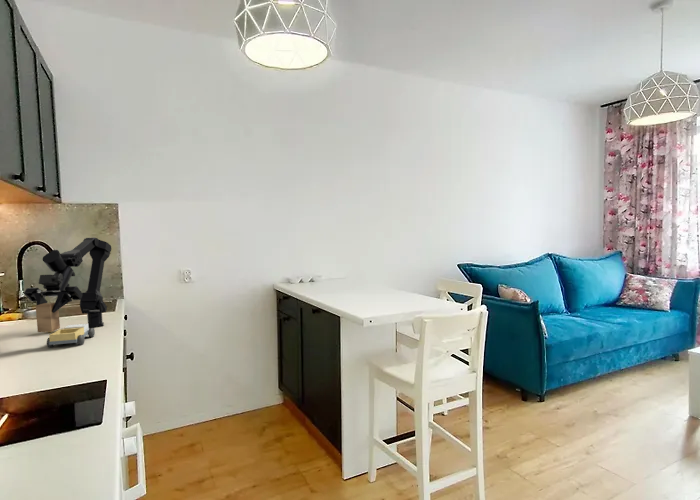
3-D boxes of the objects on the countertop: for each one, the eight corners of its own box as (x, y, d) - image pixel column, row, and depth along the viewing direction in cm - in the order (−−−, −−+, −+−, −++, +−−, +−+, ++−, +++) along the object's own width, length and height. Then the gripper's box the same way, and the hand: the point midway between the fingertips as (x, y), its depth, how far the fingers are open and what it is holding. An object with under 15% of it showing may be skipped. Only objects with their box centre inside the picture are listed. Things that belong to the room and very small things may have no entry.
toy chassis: (64, 337, 173) (63, 325, 173) (95, 335, 176) (94, 322, 175) (45, 349, 157) (44, 335, 157) (80, 346, 160) (79, 332, 160)
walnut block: (46, 328, 162) (44, 303, 162) (60, 328, 163) (58, 302, 162) (37, 332, 157) (35, 305, 157) (51, 331, 158) (49, 305, 157)
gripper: (25, 267, 162) (6, 301, 151) (76, 265, 163) (61, 299, 153) (40, 284, 170) (23, 318, 160) (88, 282, 171) (75, 315, 161)
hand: (45, 312), depth 158 cm, fingers closed on walnut block, 5 cm apart
